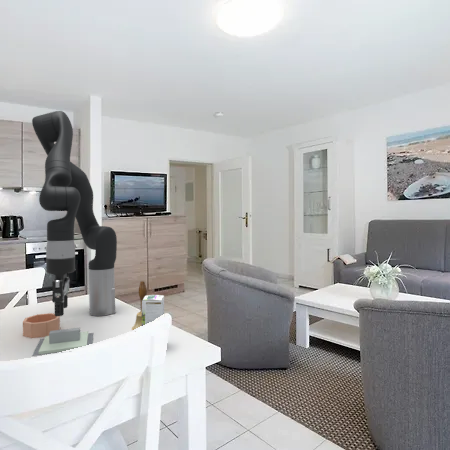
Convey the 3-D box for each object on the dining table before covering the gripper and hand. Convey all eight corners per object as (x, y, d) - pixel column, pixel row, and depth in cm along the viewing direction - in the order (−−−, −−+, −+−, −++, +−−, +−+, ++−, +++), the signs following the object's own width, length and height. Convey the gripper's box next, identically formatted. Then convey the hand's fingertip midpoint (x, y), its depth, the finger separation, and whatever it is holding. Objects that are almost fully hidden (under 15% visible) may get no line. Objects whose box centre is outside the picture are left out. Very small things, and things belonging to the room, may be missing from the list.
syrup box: (144, 343, 101) (143, 294, 100) (164, 342, 101) (164, 294, 101) (141, 351, 95) (140, 300, 94) (162, 350, 95) (162, 299, 95)
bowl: (61, 326, 116) (61, 312, 115) (57, 337, 106) (57, 321, 106) (27, 330, 112) (27, 315, 112) (20, 341, 103) (20, 324, 103)
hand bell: (132, 335, 107) (131, 285, 107) (129, 327, 115) (128, 280, 114) (158, 331, 111) (158, 282, 110) (154, 323, 118) (153, 278, 118)
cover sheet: (88, 333, 107) (88, 321, 107) (86, 348, 96) (86, 335, 96) (45, 338, 103) (45, 326, 103) (38, 354, 92) (38, 340, 92)
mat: (93, 334, 108) (93, 332, 108) (92, 350, 96) (92, 348, 96) (40, 340, 103) (40, 338, 103) (31, 358, 91) (31, 356, 91)
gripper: (72, 258, 93) (72, 317, 93) (77, 252, 106) (77, 304, 107) (41, 259, 90) (42, 320, 91) (50, 253, 104) (51, 306, 105)
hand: (61, 311), depth 99 cm, fingers open, 8 cm apart
